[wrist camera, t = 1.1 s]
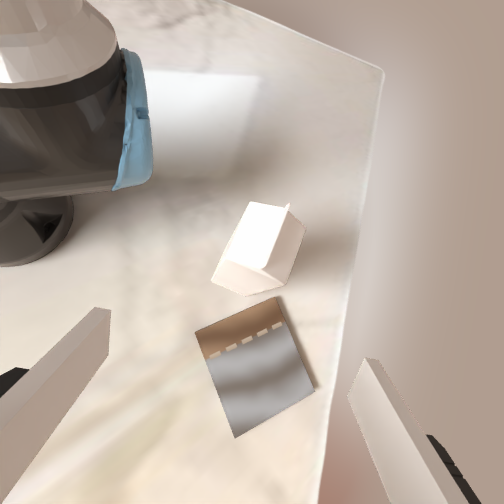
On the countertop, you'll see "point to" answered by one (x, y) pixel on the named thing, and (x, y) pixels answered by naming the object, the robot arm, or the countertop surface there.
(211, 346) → the board
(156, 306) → the countertop surface
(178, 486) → the countertop surface
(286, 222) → the milk
